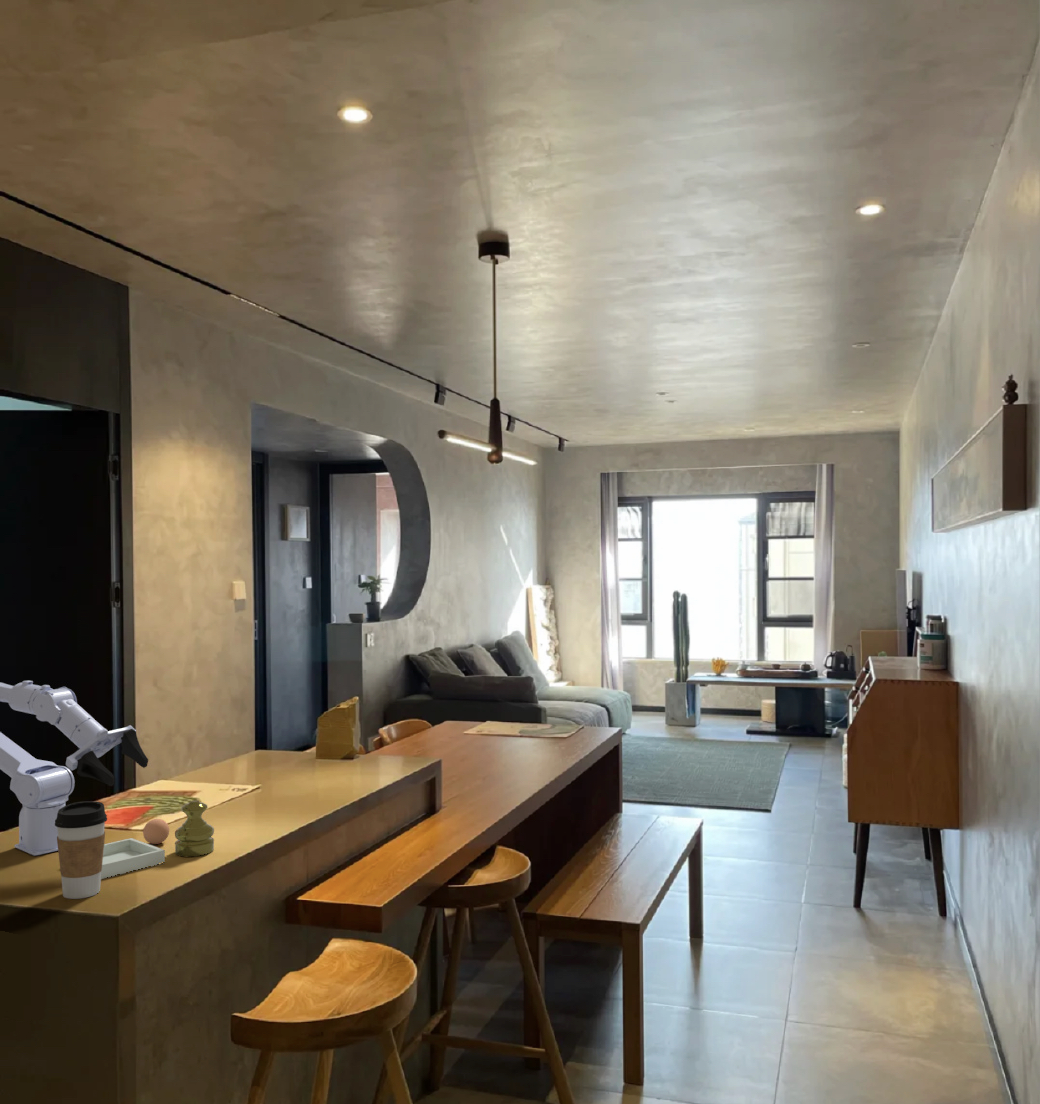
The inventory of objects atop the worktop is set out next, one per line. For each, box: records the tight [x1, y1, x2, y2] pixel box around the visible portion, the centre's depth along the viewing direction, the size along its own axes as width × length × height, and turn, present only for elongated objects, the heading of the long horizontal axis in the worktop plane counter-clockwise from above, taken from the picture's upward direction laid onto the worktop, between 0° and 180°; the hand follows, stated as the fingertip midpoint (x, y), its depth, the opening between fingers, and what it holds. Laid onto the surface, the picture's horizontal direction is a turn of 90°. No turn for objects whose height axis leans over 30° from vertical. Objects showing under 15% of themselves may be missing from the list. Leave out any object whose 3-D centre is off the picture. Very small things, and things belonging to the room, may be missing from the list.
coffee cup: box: [55, 800, 108, 900], centre depth 175 cm, size 8×8×15 cm
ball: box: [142, 818, 170, 845], centre depth 205 cm, size 5×5×5 cm
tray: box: [101, 837, 166, 880], centre depth 191 cm, size 13×13×2 cm
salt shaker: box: [174, 799, 215, 858], centre depth 199 cm, size 7×7×10 cm
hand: (129, 772), depth 194 cm, fingers open, 7 cm apart
